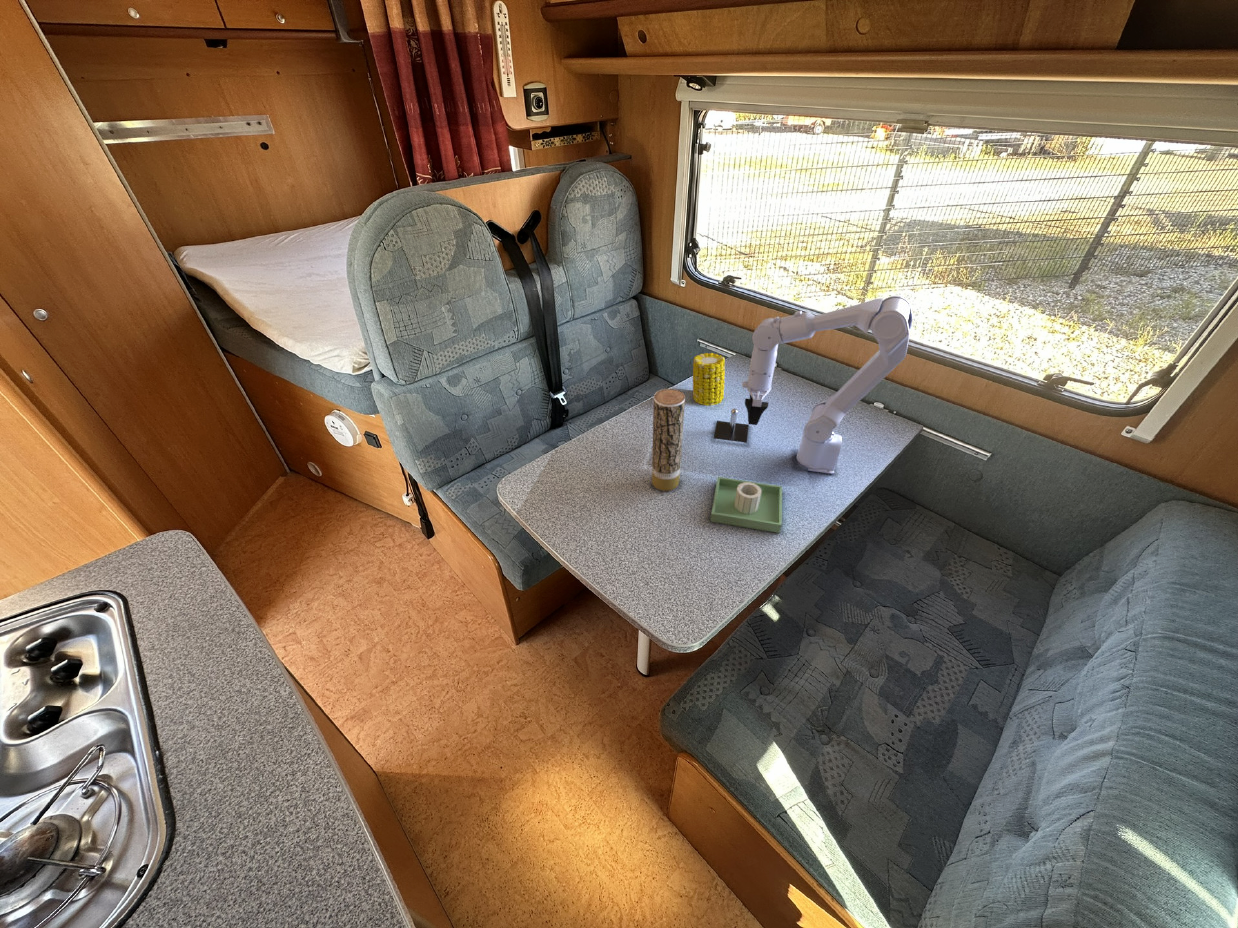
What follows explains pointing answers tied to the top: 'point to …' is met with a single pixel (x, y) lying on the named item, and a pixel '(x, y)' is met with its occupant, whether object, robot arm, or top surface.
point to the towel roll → (747, 497)
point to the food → (708, 379)
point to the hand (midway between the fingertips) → (753, 415)
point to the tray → (762, 519)
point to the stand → (731, 429)
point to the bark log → (667, 438)
